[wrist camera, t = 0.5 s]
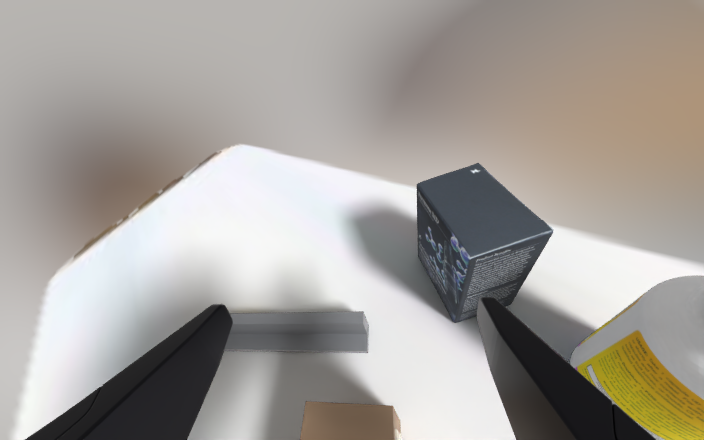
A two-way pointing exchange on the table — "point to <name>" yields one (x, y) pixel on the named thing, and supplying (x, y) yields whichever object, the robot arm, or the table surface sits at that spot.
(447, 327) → the table surface
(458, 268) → the box
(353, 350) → the rail
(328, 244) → the table surface
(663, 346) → the supplement bottle
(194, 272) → the table surface
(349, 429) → the tea box
